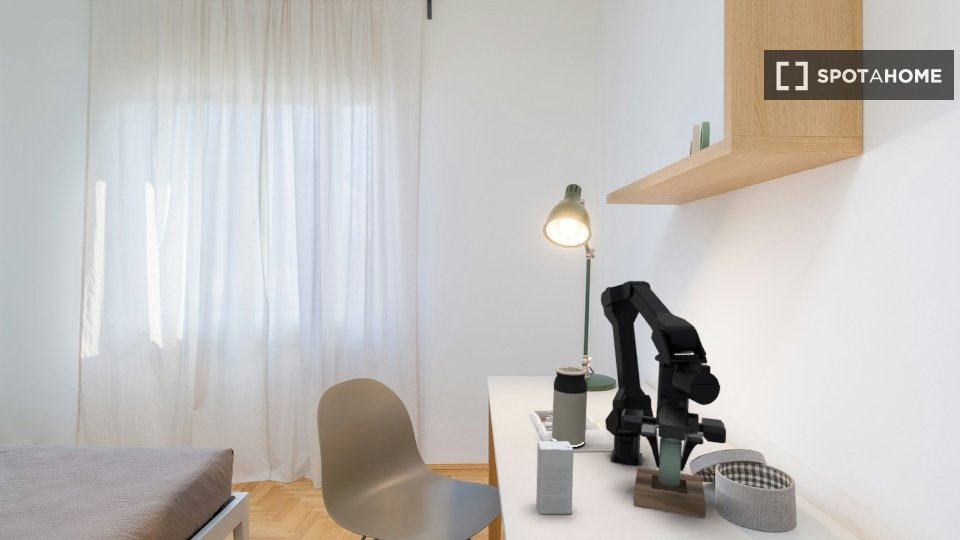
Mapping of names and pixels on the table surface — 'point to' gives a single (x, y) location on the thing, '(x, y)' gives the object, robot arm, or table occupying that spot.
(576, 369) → the travel mug
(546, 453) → the skincare box
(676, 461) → the green peg
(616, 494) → the table surface
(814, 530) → the table surface
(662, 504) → the walnut holder
